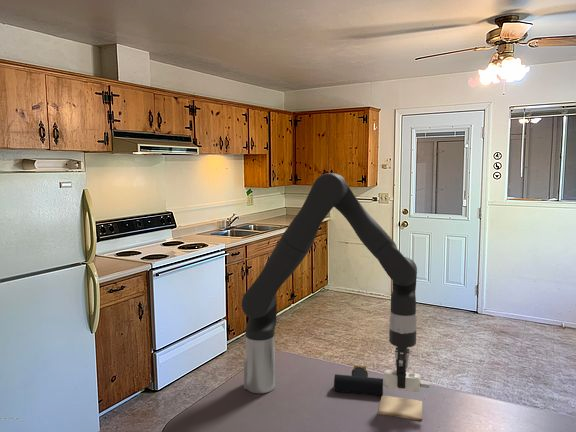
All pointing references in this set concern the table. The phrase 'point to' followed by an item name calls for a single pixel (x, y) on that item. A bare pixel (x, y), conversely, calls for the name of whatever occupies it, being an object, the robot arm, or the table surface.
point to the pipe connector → (358, 382)
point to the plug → (411, 381)
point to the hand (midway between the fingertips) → (401, 384)
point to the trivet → (400, 407)
